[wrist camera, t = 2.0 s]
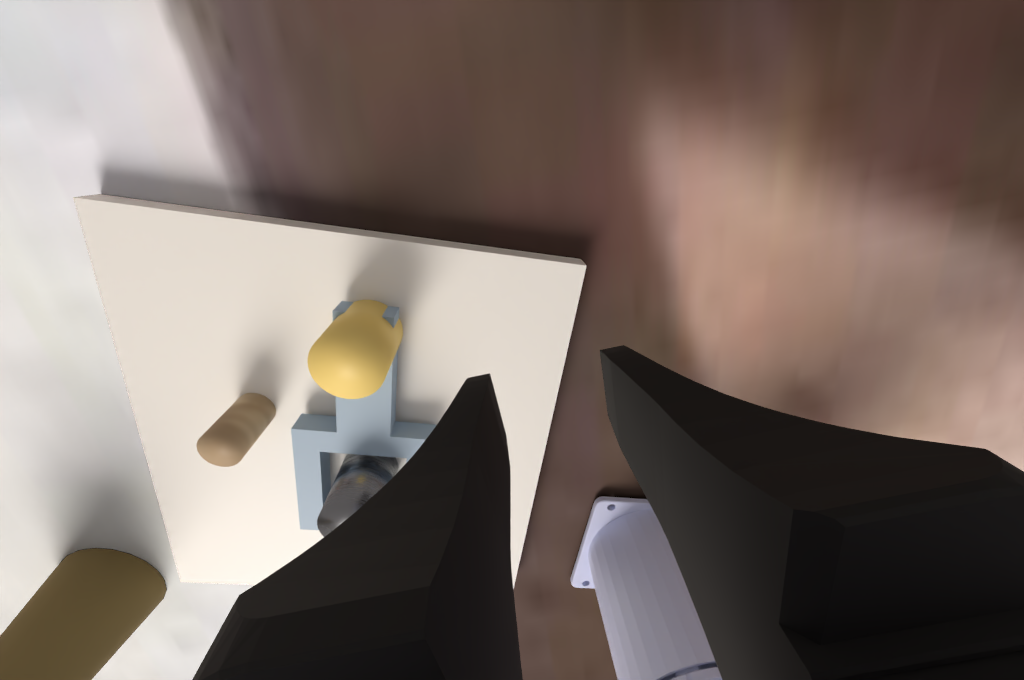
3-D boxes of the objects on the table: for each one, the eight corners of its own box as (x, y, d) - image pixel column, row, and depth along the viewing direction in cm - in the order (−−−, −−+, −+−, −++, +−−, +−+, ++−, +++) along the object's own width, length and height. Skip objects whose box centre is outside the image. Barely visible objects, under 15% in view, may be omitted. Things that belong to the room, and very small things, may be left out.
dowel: (285, 381, 21) (240, 434, 17) (288, 411, 21) (245, 468, 18) (247, 378, 20) (193, 430, 17) (251, 408, 21) (200, 465, 17)
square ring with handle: (428, 517, 23) (419, 574, 20) (309, 510, 22) (281, 568, 19) (446, 308, 18) (438, 341, 15) (292, 290, 17) (250, 321, 14)
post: (403, 432, 22) (382, 504, 18) (401, 471, 24) (381, 548, 19) (350, 427, 22) (315, 500, 18) (350, 468, 23) (318, 545, 19)
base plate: (580, 258, 19) (586, 265, 18) (511, 577, 28) (512, 594, 27) (100, 193, 17) (72, 197, 16) (193, 563, 26) (180, 582, 25)
